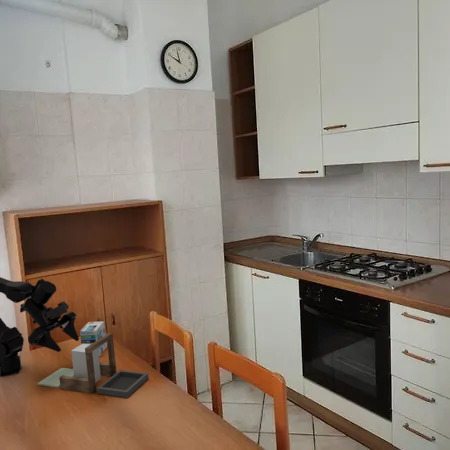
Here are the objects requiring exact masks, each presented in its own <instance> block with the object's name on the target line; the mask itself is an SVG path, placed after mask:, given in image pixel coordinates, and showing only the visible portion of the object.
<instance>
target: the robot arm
mask: <svg viewBox="0 0 450 450" xmlns="http://www.w3.org/2000/svg"><path fill="white" fill-rule="evenodd" d="M56 292H57V287H56V285H55V283H52V282H50V281H48V280H45V279H44V278H40V279H38V280H37V282H36V283H35V285H33V284H31V283H30V282H28V281H18V280H17V281H12V280H10V279H6V278H4V277H1V276H0V293H2V294H3V295H5V298H6V299H8V300H9V301H11V302H13V303H15V304H18V303H20V302H23V301H24V303H21V304H20V309H19V313H20V314H21V313H23V312H26V313H27V314H28V315H29V316H30V317H31V318H32V319H33V321H32V324H33V325H36V324H37V325H38V327H36V328H33V330H32V332H31V333H29V336H27V341H28V343H29V344H30V345H31V346H40V347H44V348H45V349H46V348H47V349H49V350H53V351H54V352H58V353H60V352H61V351H62V349H61V348H60V346H59V345H58V342H56V341H55V339H53V337H52V336H51V332H52V331H54V330H57V329H58V328H60V329H62V330H61V331H62V332H63V333H65V334H66V335H68V336H69V337H70V338H71V339H73V340H74V341H76V342H78V341H79V340H80V336H79V334H78V333H77V330H76V327H75V321H76V318H77V314H76V313H75V312H74V311H69V307H70V306H69V304H68V303H66V302H65V301H64V300H63V301H61V302H59V303H58V304H57V306H56V307H54V308H53V307H51V306H50V307H47V305H46V304H48V302H49V301H50V300H51V298H52V297H54V294H55V293H56ZM68 311H69V312H68ZM24 341H25V339H24V336H23V334H22V333H21V332H20V330H19V329H18V328H17V327H16V326H14V327H9V326H8V325H6V323H5V322H4V320H3V318H1V317H0V377H5V376H9V375H14V374H19V373H20V372H21V370H22V366H23V365H22V359H21V355H19V352H22V351H23V347H24Z"/></svg>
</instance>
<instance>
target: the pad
mask: <svg viewBox="0 0 450 450" xmlns="http://www.w3.org/2000/svg"><path fill="white" fill-rule="evenodd" d="M62 375H64V376H71V377H74V371H73V368H67V367H60V368H59V369H58V370H56V371H54V372H53V373H51V374H49V375H48V376H47V377H45V378H43V379H42V380H40V381H39V382H37V385H38V386H42V387H43V386H44V387H52V388H60V379H59V377H61V376H62Z"/></svg>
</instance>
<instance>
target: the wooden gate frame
mask: <svg viewBox="0 0 450 450" xmlns="http://www.w3.org/2000/svg"><path fill="white" fill-rule="evenodd" d="M113 334H114V333H111V332H109V333H107V334H106V335H105V336H104V337H102V338H100V339H99V340H97V341H96V342H94V343H93V344H91V345H89V346H88V347H86V348H85V354H86V363H87V372H88V379H87V378H79V377H71V376H64V375H62V376H61V377H59V379H60V387H59V388H60V389H61V390H65V391H66V390H67V391H72V392H80V393H81V392H82V393H85V394H86V393H87V394H96V393H97V384H96V383H97V382H95V372H94V363H93V354H92V351H94V350H95V349H97V348H98V347H100V346H101V345H103V344H104V343H107V353H108V362H100V361H99V364H100V374H101V377H102V376H103V377H109V378H111V377H112V376H113V375H114V374H116V373H117V372H118V371H117V363H116V353H115V343H114V335H113Z"/></svg>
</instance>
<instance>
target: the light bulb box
mask: <svg viewBox="0 0 450 450" xmlns="http://www.w3.org/2000/svg"><path fill="white" fill-rule="evenodd" d="M79 335H80V336H79V337H80V345H81V344H93V343H94V342H96V341H97V340H99V339H100V338H102V337H104V336H105V335H107V334H106V324H105V321H89V322H87V323H86V324H85V325H84V326H83V327H82V328H81V330H80V331H79ZM107 348H108V346H107V342H106V343H104V344H103V345H101V346H100V347H98V355H99V358H100V356H102V354H103V352H104V351H105V350H106V349H107Z"/></svg>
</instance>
